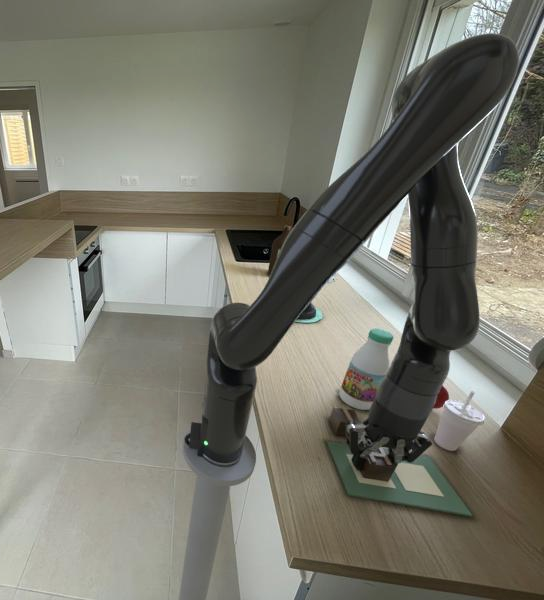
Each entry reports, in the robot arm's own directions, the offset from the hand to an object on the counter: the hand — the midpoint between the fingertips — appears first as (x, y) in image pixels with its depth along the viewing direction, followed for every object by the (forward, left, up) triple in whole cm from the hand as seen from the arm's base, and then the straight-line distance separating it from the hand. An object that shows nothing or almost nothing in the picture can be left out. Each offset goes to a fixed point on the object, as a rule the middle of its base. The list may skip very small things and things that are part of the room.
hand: (370, 468), depth 63 cm
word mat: (+4, 0, -1) cm, 4 cm away
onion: (+23, +23, -1) cm, 32 cm away
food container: (+27, +116, -1) cm, 119 cm away
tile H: (0, 0, 0) cm, 0 cm away
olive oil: (+4, +115, +10) cm, 116 cm away
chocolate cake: (+3, +73, -1) cm, 73 cm away
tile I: (-1, +11, -1) cm, 11 cm away
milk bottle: (+6, +22, -1) cm, 23 cm away
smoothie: (+20, +11, -1) cm, 23 cm away
